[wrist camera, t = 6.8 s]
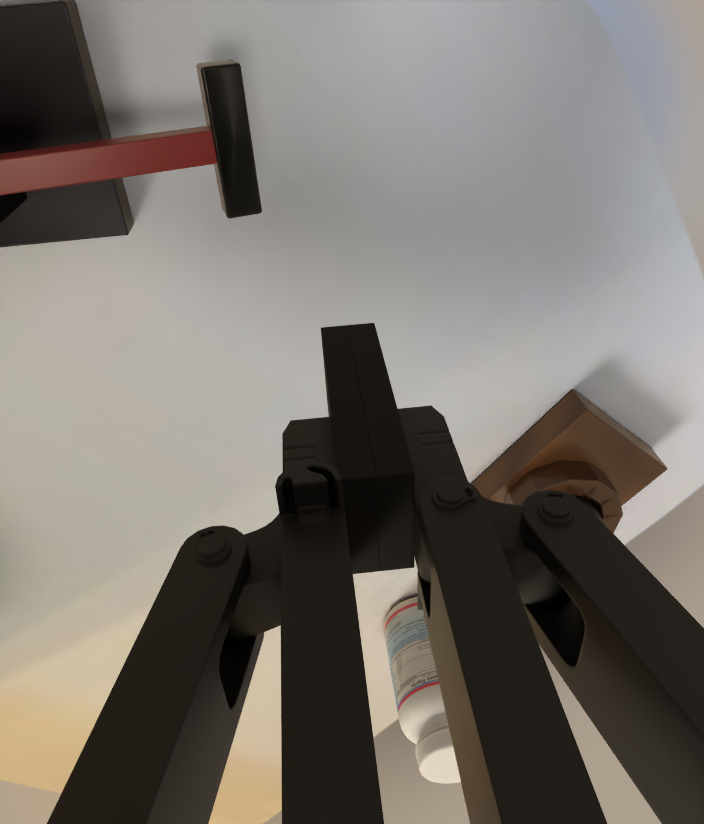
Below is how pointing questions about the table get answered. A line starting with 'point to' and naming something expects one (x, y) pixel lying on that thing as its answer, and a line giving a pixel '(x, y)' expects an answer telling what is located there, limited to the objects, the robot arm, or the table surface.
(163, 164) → the red lever
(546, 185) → the table surface
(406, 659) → the pill bottle
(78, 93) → the black lever stand
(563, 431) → the block
